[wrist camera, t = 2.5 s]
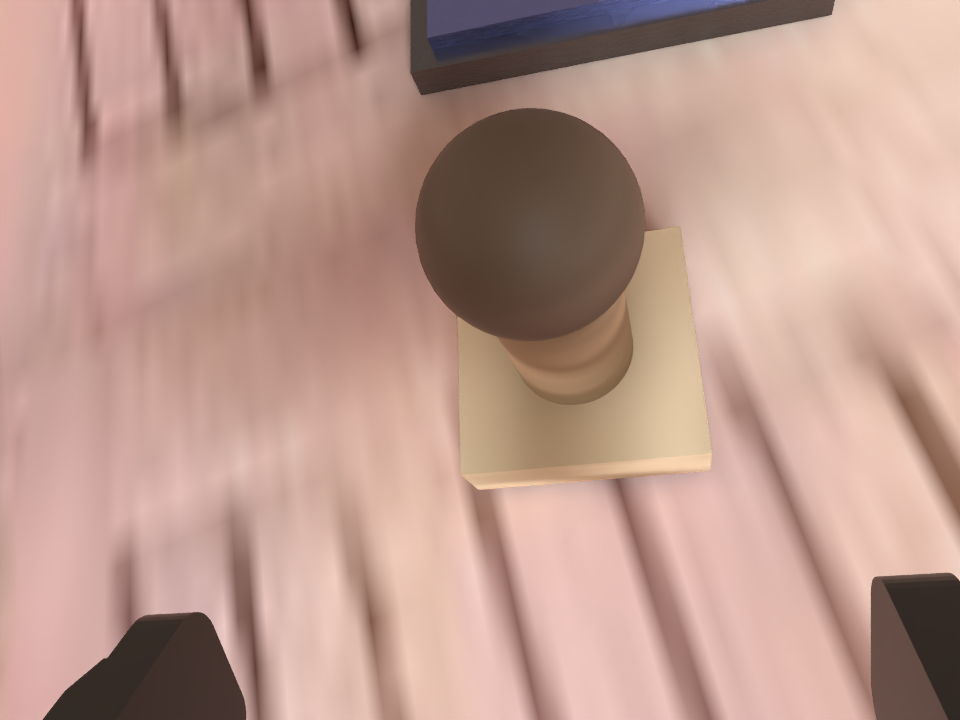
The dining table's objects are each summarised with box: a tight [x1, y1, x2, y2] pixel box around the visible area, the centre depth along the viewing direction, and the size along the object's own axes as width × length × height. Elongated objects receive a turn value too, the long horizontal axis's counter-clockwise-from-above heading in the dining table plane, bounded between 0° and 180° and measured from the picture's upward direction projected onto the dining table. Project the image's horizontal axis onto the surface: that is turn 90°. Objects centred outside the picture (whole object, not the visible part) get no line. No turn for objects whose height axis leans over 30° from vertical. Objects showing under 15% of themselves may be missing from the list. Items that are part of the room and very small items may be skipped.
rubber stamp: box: [415, 108, 712, 490], centre depth 18 cm, size 6×6×11 cm
